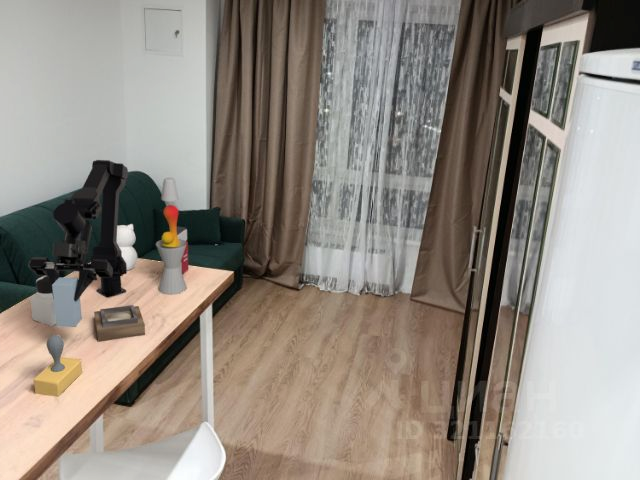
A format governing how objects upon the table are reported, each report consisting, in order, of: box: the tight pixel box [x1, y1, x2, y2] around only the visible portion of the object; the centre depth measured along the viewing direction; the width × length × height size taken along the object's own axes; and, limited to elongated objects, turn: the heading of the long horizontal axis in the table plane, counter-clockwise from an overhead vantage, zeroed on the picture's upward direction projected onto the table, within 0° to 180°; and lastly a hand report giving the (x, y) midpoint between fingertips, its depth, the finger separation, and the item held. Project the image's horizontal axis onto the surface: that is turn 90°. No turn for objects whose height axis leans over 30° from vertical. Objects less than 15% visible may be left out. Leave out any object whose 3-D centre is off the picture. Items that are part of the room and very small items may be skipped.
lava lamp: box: [155, 177, 188, 296], centre depth 179 cm, size 9×9×35 cm
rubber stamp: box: [33, 334, 83, 397], centre depth 132 cm, size 10×6×12 cm, turn 171°
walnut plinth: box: [93, 304, 146, 343], centre depth 159 cm, size 12×12×4 cm
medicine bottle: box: [29, 276, 56, 327], centre depth 161 cm, size 7×7×12 cm
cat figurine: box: [117, 223, 138, 272], centre depth 195 cm, size 9×12×15 cm
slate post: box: [52, 276, 83, 328], centre depth 145 cm, size 4×4×11 cm
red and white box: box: [164, 226, 189, 275], centre depth 192 cm, size 11×4×15 cm, turn 168°
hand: (65, 300), depth 143 cm, fingers closed on slate post, 4 cm apart
